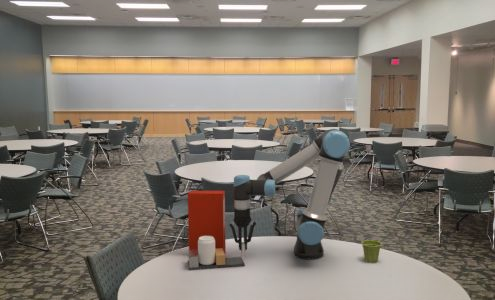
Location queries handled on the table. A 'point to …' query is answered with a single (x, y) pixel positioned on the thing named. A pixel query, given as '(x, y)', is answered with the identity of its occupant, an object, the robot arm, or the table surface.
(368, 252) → the plant pot
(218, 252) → the block
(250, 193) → the robot arm
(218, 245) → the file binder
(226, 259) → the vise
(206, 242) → the beverage can
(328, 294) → the table surface
